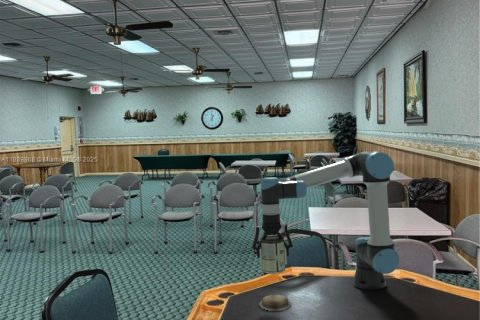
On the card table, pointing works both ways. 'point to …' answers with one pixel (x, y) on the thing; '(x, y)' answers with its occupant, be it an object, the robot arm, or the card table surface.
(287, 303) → the brown domed disc
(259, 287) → the card table surface
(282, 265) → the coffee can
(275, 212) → the robot arm
